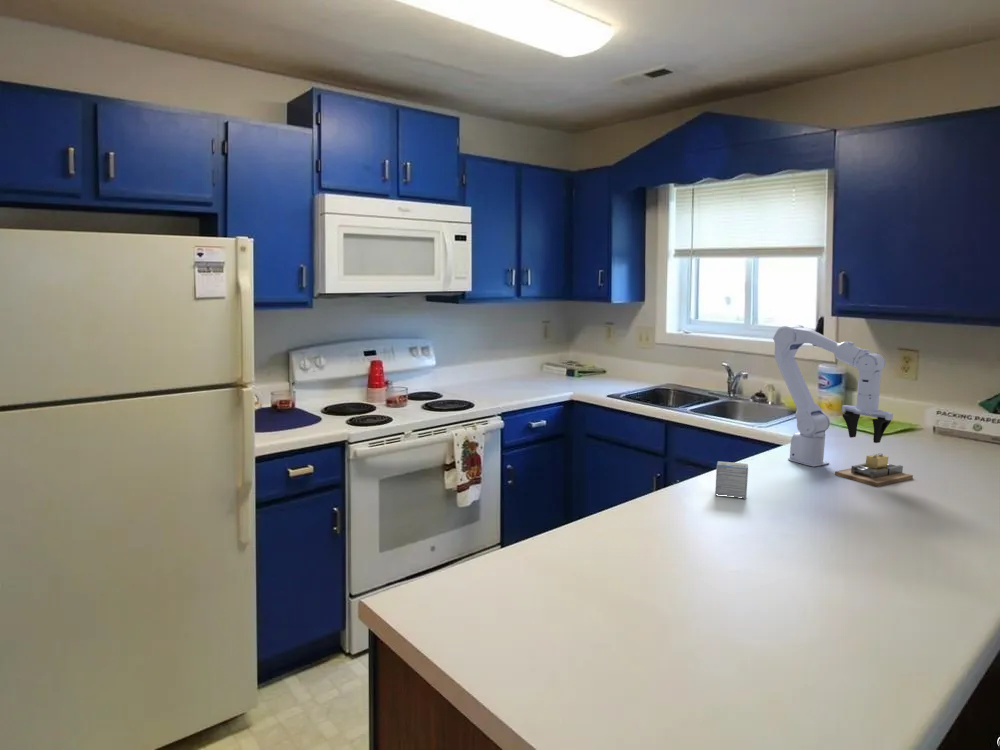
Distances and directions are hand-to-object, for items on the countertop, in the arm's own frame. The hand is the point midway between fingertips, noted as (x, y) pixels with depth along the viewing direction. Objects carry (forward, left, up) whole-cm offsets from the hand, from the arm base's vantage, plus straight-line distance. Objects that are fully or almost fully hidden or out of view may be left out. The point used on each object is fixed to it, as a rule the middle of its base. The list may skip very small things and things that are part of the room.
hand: (864, 439), depth 202 cm
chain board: (+3, 0, -10) cm, 11 cm away
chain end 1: (+3, -2, -9) cm, 10 cm away
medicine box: (-3, -51, -11) cm, 52 cm away
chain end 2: (+3, +6, -9) cm, 11 cm away
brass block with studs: (+3, +1, -9) cm, 10 cm away
